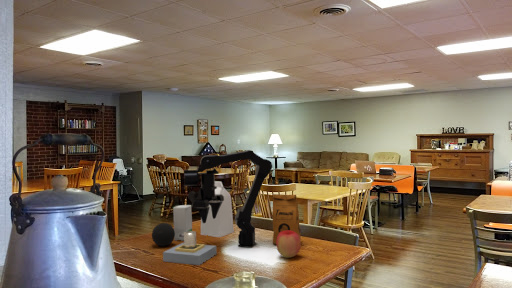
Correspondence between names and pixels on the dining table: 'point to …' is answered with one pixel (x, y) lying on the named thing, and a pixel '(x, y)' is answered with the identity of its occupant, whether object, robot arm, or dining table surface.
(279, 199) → the coffee package
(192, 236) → the spout can
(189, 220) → the skincare box
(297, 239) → the apple
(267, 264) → the dining table surface
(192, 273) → the dining table surface
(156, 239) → the speaker
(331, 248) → the dining table surface
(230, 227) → the milk
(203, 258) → the grey flat square piece
